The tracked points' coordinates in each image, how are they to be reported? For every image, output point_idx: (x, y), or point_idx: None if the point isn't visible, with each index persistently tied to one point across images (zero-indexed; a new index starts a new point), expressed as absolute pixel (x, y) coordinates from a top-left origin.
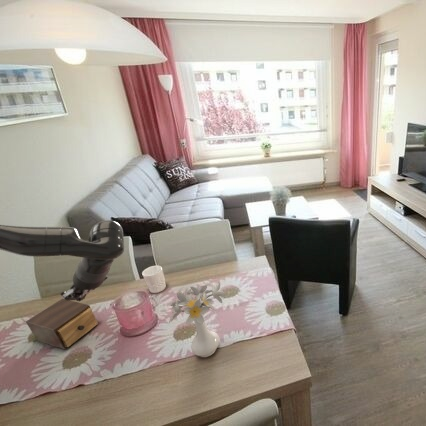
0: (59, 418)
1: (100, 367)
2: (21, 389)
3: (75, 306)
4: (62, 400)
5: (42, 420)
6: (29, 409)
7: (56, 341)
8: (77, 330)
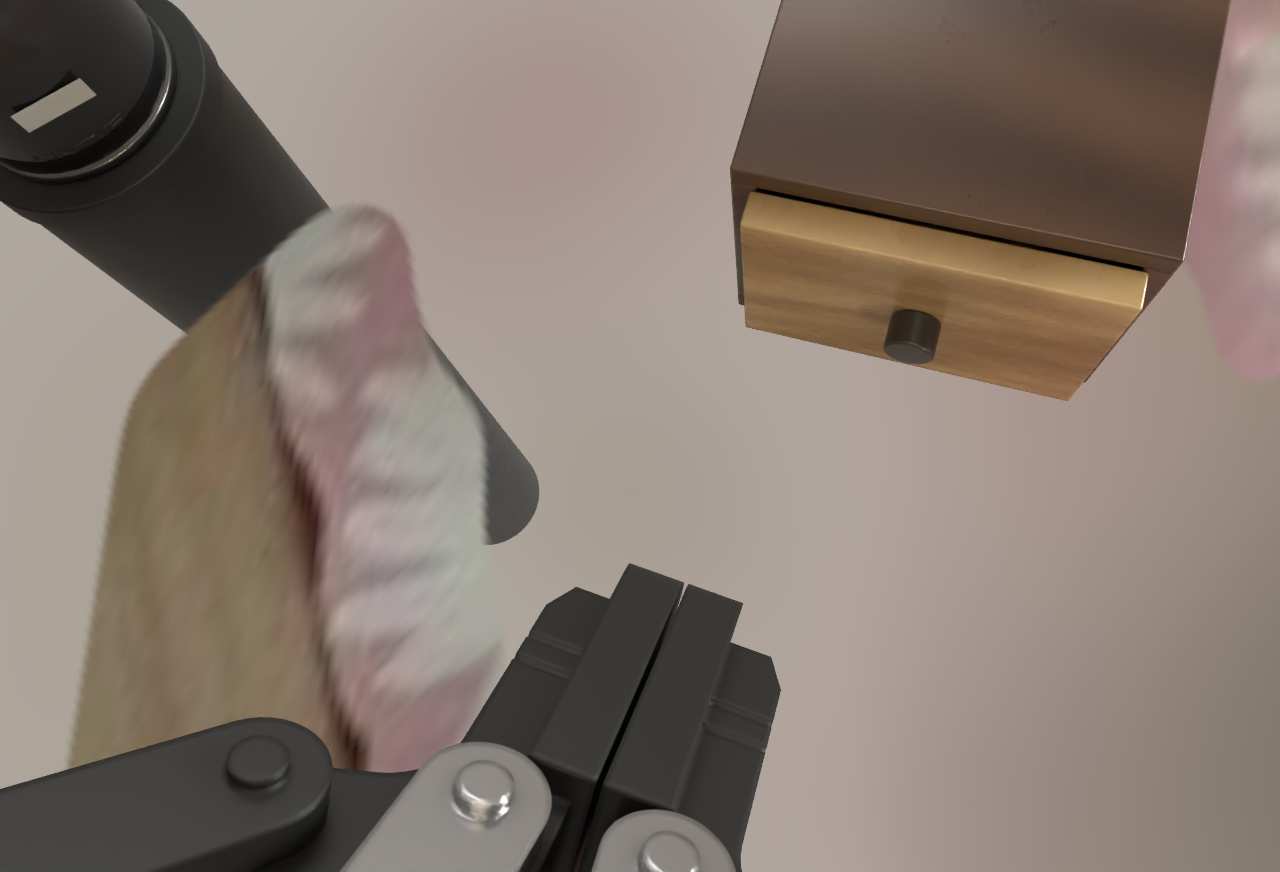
0: None
1: None
2: (362, 277)
3: (1136, 102)
4: (227, 700)
5: (83, 669)
6: (187, 487)
7: None
8: (882, 318)
